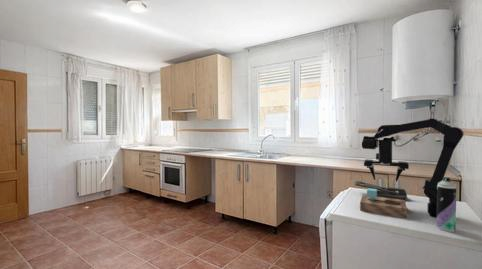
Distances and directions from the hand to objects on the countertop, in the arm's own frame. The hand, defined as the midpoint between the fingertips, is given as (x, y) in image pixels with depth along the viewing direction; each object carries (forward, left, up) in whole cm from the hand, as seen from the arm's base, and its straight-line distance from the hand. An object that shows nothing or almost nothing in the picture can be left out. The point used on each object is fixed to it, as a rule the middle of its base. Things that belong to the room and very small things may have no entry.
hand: (385, 180), depth 116 cm
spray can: (-20, +20, -12) cm, 31 cm away
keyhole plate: (+1, +9, -12) cm, 15 cm away
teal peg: (+5, +9, -12) cm, 16 cm away
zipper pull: (+3, -15, -12) cm, 19 cm away
